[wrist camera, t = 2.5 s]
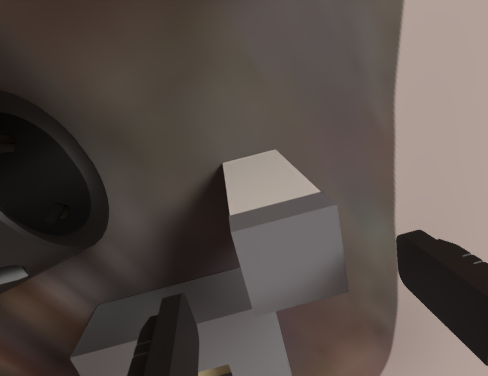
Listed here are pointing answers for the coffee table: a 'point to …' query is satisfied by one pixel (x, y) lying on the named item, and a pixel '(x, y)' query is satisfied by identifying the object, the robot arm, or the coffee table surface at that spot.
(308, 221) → the plug
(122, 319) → the socket
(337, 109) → the coffee table surface
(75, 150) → the muzzle brake
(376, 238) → the coffee table surface
